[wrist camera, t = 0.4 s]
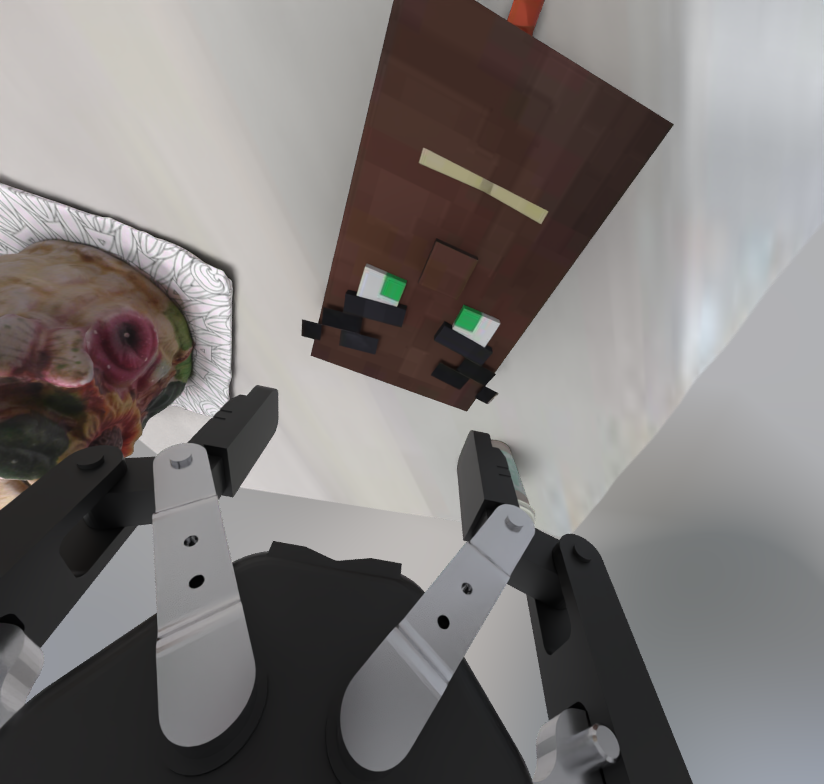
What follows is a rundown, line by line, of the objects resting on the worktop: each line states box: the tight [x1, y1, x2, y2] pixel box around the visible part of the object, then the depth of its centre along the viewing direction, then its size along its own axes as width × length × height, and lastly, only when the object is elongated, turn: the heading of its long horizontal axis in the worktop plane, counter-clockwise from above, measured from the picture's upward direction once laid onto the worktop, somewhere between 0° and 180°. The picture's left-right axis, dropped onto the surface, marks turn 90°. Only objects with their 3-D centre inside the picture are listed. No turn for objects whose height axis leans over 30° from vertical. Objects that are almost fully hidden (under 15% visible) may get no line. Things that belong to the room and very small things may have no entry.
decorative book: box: [302, 0, 674, 411], centre depth 27 cm, size 19×8×30 cm
